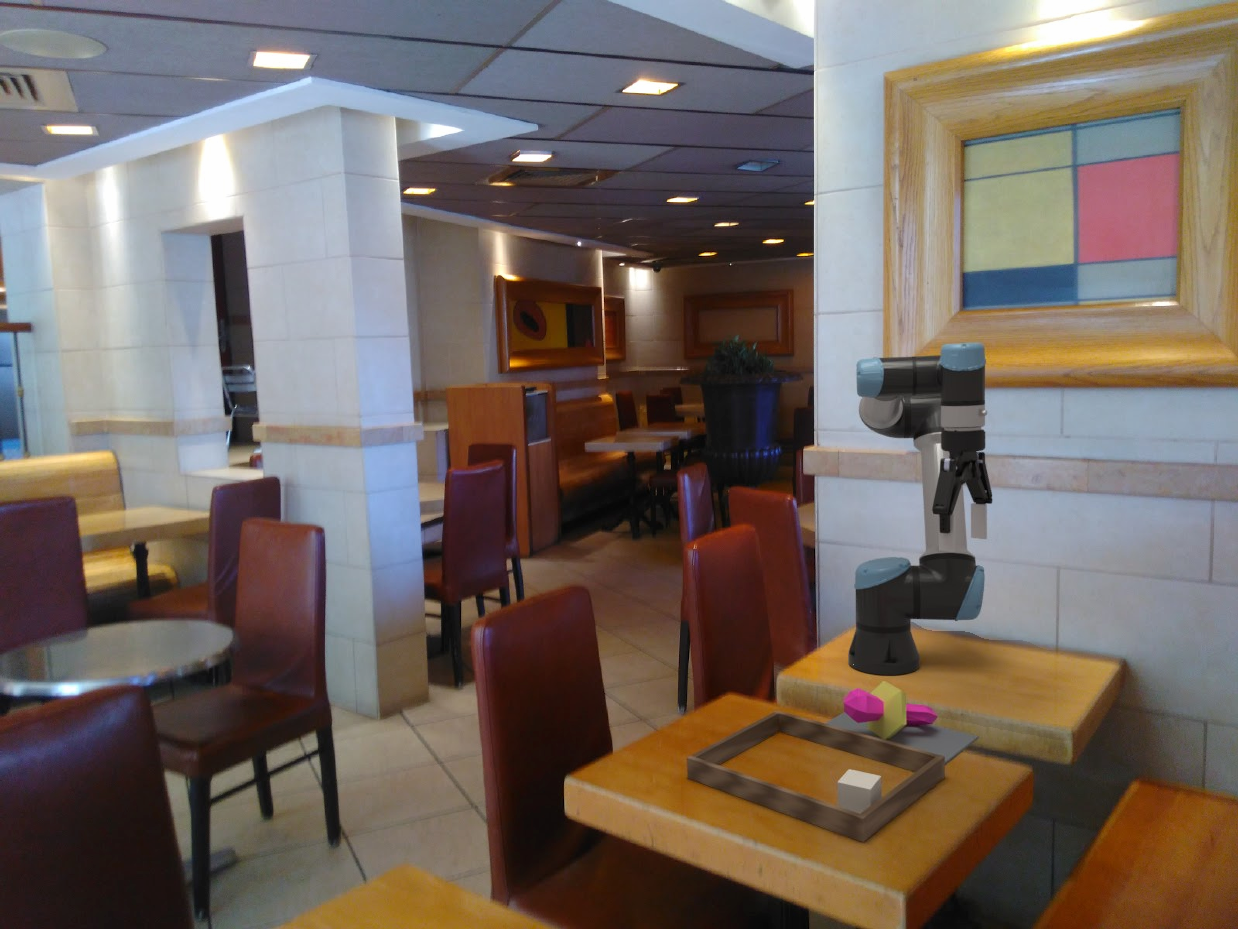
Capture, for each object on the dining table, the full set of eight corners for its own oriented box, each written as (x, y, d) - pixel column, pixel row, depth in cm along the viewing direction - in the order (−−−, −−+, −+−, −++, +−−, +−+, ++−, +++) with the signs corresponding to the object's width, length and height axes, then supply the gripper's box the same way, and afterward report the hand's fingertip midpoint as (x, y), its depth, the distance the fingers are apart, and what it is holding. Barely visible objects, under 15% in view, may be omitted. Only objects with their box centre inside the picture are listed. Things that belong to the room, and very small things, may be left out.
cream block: (837, 814, 135) (837, 782, 134) (849, 800, 139) (848, 769, 138) (870, 822, 132) (870, 789, 132) (881, 807, 136) (881, 776, 136)
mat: (805, 736, 163) (805, 734, 163) (856, 707, 176) (856, 705, 176) (932, 774, 146) (932, 771, 146) (978, 738, 159) (978, 736, 159)
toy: (948, 746, 157) (946, 685, 161) (860, 731, 152) (860, 670, 156) (912, 748, 166) (911, 691, 170) (827, 735, 161) (828, 676, 165)
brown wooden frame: (687, 778, 149) (686, 757, 148) (777, 728, 167) (777, 710, 167) (863, 842, 126) (862, 818, 126) (944, 777, 145) (944, 756, 144)
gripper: (953, 434, 152) (954, 558, 154) (1010, 423, 169) (1010, 535, 172) (911, 434, 157) (912, 554, 159) (971, 423, 175) (971, 531, 177)
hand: (963, 544), depth 165 cm, fingers open, 13 cm apart
